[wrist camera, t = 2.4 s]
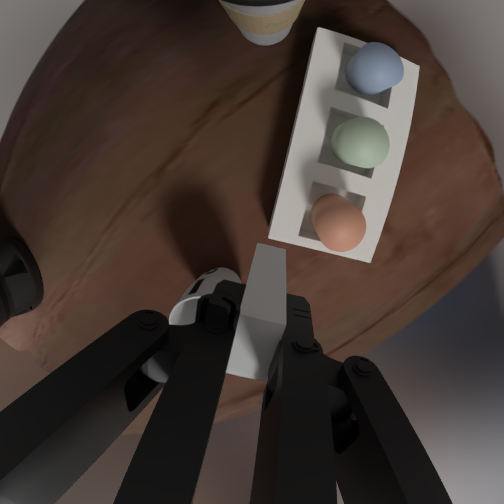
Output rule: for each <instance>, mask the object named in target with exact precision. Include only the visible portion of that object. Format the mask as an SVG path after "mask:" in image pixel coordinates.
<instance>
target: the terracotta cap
mask: <svg viewBox="0 0 504 504" xmlns="http://www.w3.org/2000/svg"><path fill="white" fill-rule="evenodd" d="M310 217H311V222H312V224H313V226H314V228H315V230H316V232H317V234H318V236H319V238H320V241H321V242H322V243H323V245H324V246H325V247H327V248H328V249H330V250H332V251H335V252H346V251H349V250H351V249H353V248H355V247H356V246H357V245H359V243H360V242H361V241H362V239H363V238H364V235H365V232H366V220H365V217H364V215H363V213H362V212H361V211H360V210H359V209H358V208H357V207H356V206H355V205H353V204H352V203H351V202H349V201H348V200H347V199H345V198H344V197H342V196H341V195H338V194H326V195H323V196H321V197H320V198H318V199H317V200H316V201H315V203H314V204H313V206H312V208H311V214H310Z"/></svg>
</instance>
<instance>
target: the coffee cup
mask: <svg viewBox="0 0 504 504" xmlns="http://www.w3.org/2000/svg"><path fill="white" fill-rule="evenodd" d="M218 1H219V2H220V3H221V5H222V6H223V8H224V9H225V11H226V12H227V14H228V15H229V17H230V18H231V20H232V21H233V22H234V23H235V24H236V25H237V27H238V28H239V30H240V31H241V33H242V34H243V35H244V37H245V38H247V39H248V40H249V41H251V42H253V43H255V44H258V45H272V44H275V43H278V42H280V41H281V40H283V39H284V38H285V37H286V36H287V35H288V33H289V31H290V29H291V26H292V24H293V22H294V21H295V20H296V19H297V16H298V14H299V12H300V10H301V8H302V5H303V3H304V1H305V0H218Z"/></svg>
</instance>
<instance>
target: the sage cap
mask: <svg viewBox="0 0 504 504" xmlns="http://www.w3.org/2000/svg"><path fill="white" fill-rule="evenodd" d="M329 142H330V148H331V151H332V153H333V154H334V156H335V157H336V158H337V159H338V160H340V161H341V162H343V163H346V164H350V165H354V166H358V167H362V168H373V167H376V166H378V165H380V164H381V163H382V162H383V161H384V160H385V159H386V157H387V155H388V153H389V148H390V141H389V137H388V134H387V132H386V130H385V128H384V127H383V126H382V125H381V124H380V123H379V122H378V121H376V120H375V119H372V118H369V117H357V118H354V119H351V120H348V121H345V122H342V123H340V124H338V125H337V126H336V127H335V128H334V129H333V130H332V132H331V135H330V141H329Z"/></svg>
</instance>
